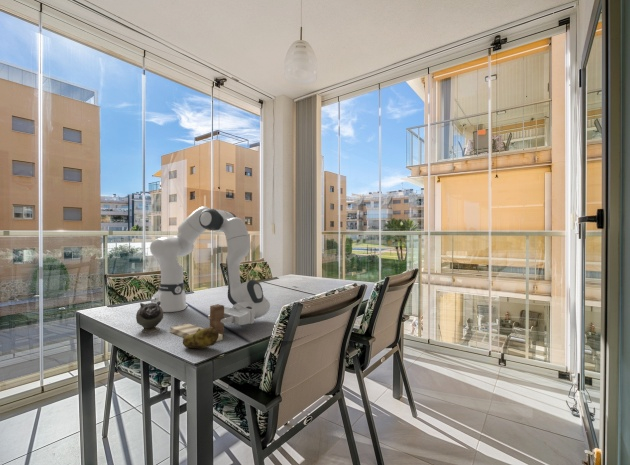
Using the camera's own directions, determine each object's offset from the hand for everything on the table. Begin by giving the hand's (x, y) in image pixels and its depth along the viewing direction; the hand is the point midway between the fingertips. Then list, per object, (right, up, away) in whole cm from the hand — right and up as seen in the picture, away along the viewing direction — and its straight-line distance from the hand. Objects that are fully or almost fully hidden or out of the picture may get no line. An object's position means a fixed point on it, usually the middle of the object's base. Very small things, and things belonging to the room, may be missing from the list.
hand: (215, 319), depth 132 cm
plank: (-7, -6, -2) cm, 10 cm away
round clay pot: (-29, -6, +4) cm, 30 cm away
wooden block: (-2, -7, -2) cm, 7 cm away
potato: (0, -7, -16) cm, 17 cm away
